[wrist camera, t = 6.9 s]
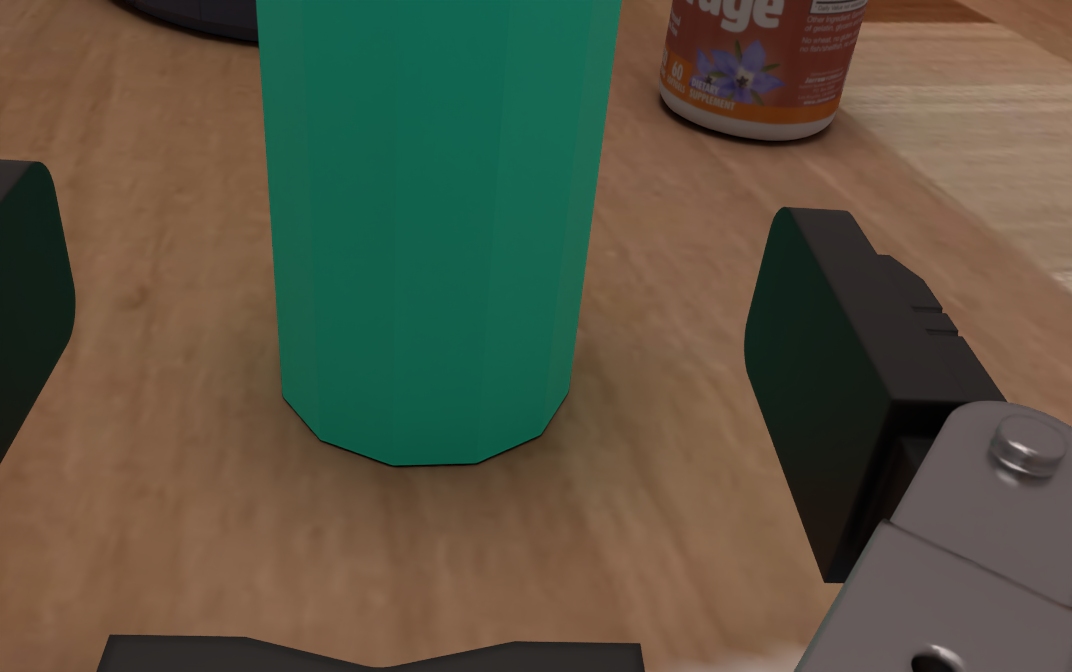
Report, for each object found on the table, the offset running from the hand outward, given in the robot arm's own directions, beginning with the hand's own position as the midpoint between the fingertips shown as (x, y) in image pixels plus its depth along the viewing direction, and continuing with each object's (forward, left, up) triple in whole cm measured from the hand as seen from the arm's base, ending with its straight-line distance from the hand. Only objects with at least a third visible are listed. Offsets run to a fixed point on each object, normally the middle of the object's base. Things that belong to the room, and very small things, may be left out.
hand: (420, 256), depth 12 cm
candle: (-2, +7, -7) cm, 10 cm away
